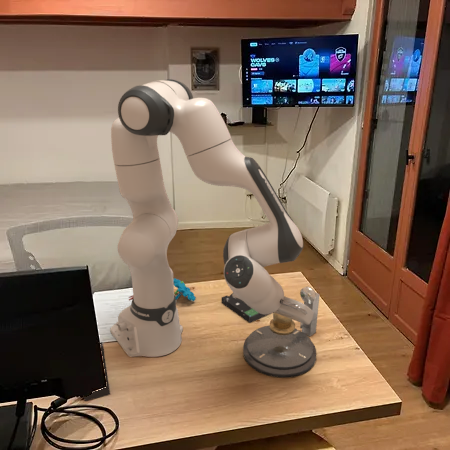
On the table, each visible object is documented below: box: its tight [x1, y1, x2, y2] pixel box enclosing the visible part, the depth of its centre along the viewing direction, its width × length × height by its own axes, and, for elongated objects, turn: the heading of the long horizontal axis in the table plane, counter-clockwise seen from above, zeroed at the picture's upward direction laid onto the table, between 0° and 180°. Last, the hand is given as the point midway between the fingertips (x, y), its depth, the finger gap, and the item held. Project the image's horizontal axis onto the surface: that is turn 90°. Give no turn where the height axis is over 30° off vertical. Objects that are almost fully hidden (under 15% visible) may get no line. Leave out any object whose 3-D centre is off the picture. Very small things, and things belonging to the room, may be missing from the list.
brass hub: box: [269, 312, 296, 335], centre depth 120 cm, size 7×7×8 cm
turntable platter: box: [247, 325, 314, 370], centre depth 124 cm, size 18×18×2 cm
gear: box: [173, 277, 197, 302], centre depth 150 cm, size 11×6×10 cm
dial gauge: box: [299, 286, 320, 337], centre depth 130 cm, size 5×6×16 cm
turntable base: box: [242, 335, 317, 379], centre depth 125 cm, size 20×20×2 cm
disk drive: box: [221, 292, 273, 324], centre depth 146 cm, size 10×3×15 cm
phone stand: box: [83, 341, 111, 402], centre depth 110 cm, size 9×6×12 cm, turn 23°
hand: (283, 312), depth 120 cm, fingers closed on brass hub, 5 cm apart
